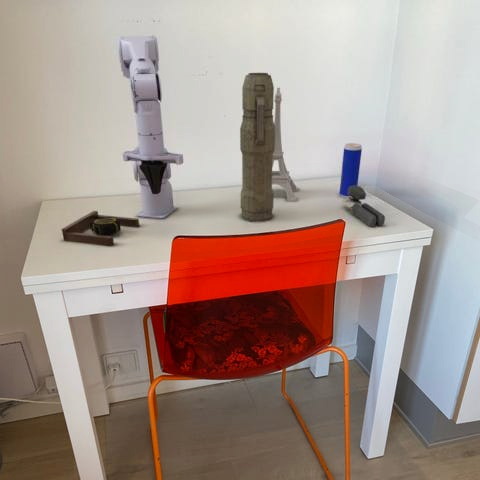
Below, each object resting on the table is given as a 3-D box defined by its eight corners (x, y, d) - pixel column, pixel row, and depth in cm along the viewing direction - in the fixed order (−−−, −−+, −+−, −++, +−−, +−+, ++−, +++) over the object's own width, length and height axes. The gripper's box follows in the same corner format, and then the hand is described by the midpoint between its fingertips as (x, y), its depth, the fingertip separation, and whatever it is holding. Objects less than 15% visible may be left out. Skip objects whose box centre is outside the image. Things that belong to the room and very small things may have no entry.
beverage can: (343, 192, 148) (348, 142, 140) (358, 195, 145) (365, 144, 138) (336, 196, 145) (341, 145, 137) (351, 199, 142) (357, 147, 134)
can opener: (338, 205, 137) (340, 184, 133) (354, 204, 138) (356, 182, 134) (368, 228, 121) (371, 203, 118) (386, 226, 122) (389, 202, 118)
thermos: (246, 225, 124) (246, 75, 105) (236, 211, 133) (234, 72, 115) (278, 222, 125) (283, 74, 107) (266, 208, 135) (269, 71, 117)
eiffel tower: (256, 187, 154) (257, 85, 138) (297, 188, 152) (303, 85, 137) (251, 199, 143) (252, 90, 127) (295, 201, 141) (301, 90, 125)
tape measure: (116, 227, 123) (114, 213, 121) (125, 235, 118) (123, 221, 116) (90, 232, 120) (87, 218, 118) (98, 241, 115) (95, 226, 113)
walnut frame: (95, 221, 127) (93, 210, 126) (139, 225, 124) (138, 214, 122) (63, 240, 116) (61, 229, 114) (111, 246, 112) (109, 234, 111)
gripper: (112, 135, 105) (121, 195, 112) (172, 138, 101) (177, 200, 108) (128, 129, 111) (135, 187, 118) (185, 132, 107) (189, 191, 114)
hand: (156, 193), depth 114 cm, fingers closed
